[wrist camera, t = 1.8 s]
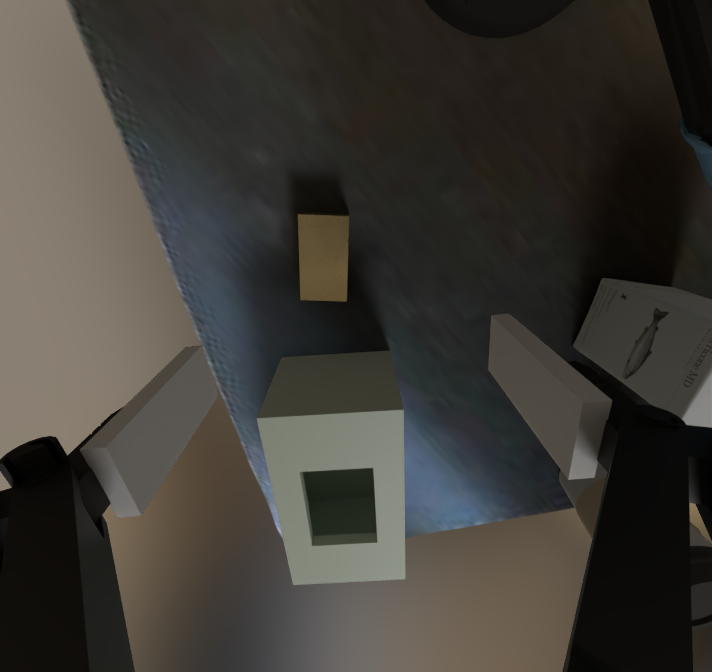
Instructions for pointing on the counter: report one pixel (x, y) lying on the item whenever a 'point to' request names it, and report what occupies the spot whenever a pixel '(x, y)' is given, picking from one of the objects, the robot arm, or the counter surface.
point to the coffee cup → (706, 558)
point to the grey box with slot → (337, 466)
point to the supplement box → (654, 345)
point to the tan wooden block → (323, 255)
